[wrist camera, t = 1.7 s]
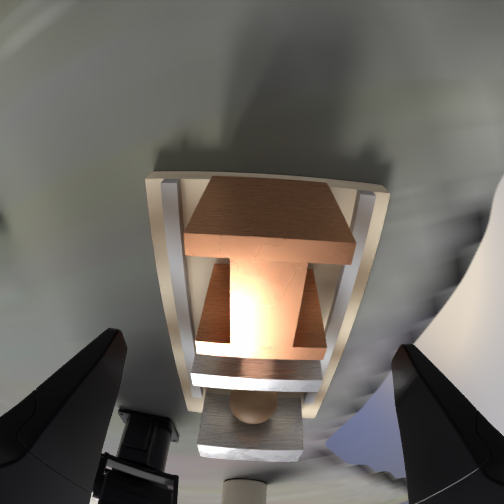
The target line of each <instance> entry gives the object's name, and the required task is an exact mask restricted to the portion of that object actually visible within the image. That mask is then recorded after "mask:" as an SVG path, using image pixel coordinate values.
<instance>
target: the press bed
mask: <svg viewBox="0 0 504 504" xmlns="http://www.w3.org/2000/svg"><path fill="white" fill-rule="evenodd" d="M212 176H239V177H259V178H276V179H291V180H304V181H316V182H327V184H328V186H329V188H330V189H331V191H332V193H333V195H334V197H335V199H336V201H337V203H338V205H339V207H340V209H341V211H342V213H343V215H344V218H345V220H346V222H347V224H348V226H349V228H350V230H351V232H352V234H353V236H354V239H355V241H356V243H357V244H356V248H355V252H354V256H353V260H352V264H351V265H341V264H322V263H308V267H307V269H313V271H314V276H315V282H316V287H317V292H318V297H319V303H320V308H321V314H322V320H323V325H324V331H325V337H326V343H327V350H326V353H325V356H324V359H323V360H320V361H321V369H322V377H323V381H322V384H321V386H320V389H319V392H282V391H276V393H277V397H284V398H301V407H302V418H315V416H316V414H317V412H318V410H319V408H320V405H321V403H322V401H323V399H324V396H325V394H326V392H327V389H328V387H329V385H330V382H331V380H332V378H333V375H334V373H335V370H336V368H337V365H338V363H339V360H340V358H341V355H342V353H343V350H344V347H345V345H346V342H347V339H348V337H349V334H350V331H351V328H352V326H353V323H354V320H355V317H356V314H357V311H358V308H359V305H360V302H361V299H362V296H363V293H364V290H365V287H366V284H367V280H368V277H369V274H370V271H371V267H372V264H373V260H374V257H375V253H376V250H377V246H378V242H379V239H380V235H381V231H382V227H383V223H384V219H385V215H386V211H387V207H388V202H389V198H390V193H389V191H388V190H387V189H386V188H385V187H384V186H383V185H378V184H370V183H362V182H354V181H345V180H335V179H325V178H314V177H302V176H289V175H274V174H257V173H236V172H202V171H153V172H152V173H151V174H150V175H149V176H148V177H147V178H146V179H145V182H146V192H147V201H148V210H149V218H150V226H151V234H152V241H153V248H154V255H155V261H156V267H157V273H158V279H159V285H160V291H161V296H162V302H163V307H164V312H165V317H166V322H167V327H168V332H169V336H170V341H171V345H172V350H173V354H174V358H175V363H176V367H177V371H178V375H179V379H180V383H181V387H182V391H183V394H184V398H185V402H186V405H187V409H188V411H193V412H201V413H202V410H203V404H204V398H205V393H215V394H226V395H230V394H231V391H232V389H226V388H215V387H205V386H196V385H193V382H192V377H191V370H192V365H193V361H194V356H195V352H196V343H195V340H196V336H197V331H198V327H199V323H200V319H201V315H202V310H203V306H204V302H205V298H206V294H207V290H208V286H209V282H210V278H211V274H212V270H213V266H214V263H215V264H230V258H216V257H199V256H185V245H184V231H185V229H186V227H187V225H188V223H189V221H190V219H191V217H192V215H193V213H194V211H195V208H196V206H197V204H198V202H199V200H200V198H201V197H202V195H203V193H204V191H205V189H206V187H207V185H208V183H209V181H210V179H211V177H212Z"/></svg>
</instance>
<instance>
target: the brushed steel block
mask: <svg viewBox="0 0 504 504" xmlns="http://www.w3.org/2000/svg"><path fill="white" fill-rule="evenodd" d="M229 397H230V395H226V394H215V393H205V398H204V404H203V410H202V417H201V423H200V429H199V435H198V442H197V446H198V449H199V452H200V455H201V456H202V457H210V458H220V459H231V460H246V461H271V462H297V461H298V459H299V457H300V456H301V454H302V452H303V450H304V448H303V426H302V407H301V398H284V397H278V405H277V409H276V411H275V413H274V414H273V415H272V417H270V418H269V419H268V420H266V421H265V422H262V423H259V424H249V423H245V422H243V421H241V420H239V419H238V418H237V417H236V416H235V415H234V414H233V413H232V411H231V409H230V405H229Z"/></svg>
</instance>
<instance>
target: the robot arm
mask: <svg viewBox="0 0 504 504" xmlns="http://www.w3.org/2000/svg"><path fill="white" fill-rule="evenodd" d="M126 354H127V345H126V342H125V340H124V337H123V334H122V332H121V330H119V329H114V328H108V329H107V330H105V331H104V332H103V333H102V334H100V335H99V336H98V337H97V338H96V339H94V340H93V341H92V342H91V343H90V344H88V345H87V346H86V347H85V348H84V349H82V350H81V351H80V352H79V353H78V354H76V355H75V356H74V357H73V358H72V359H70V360H69V361H68V362H67V363H66V364H64V365H63V366H62V367H61V368H60V369H59V370H57V371H56V372H55V373H54V374H53V375H51V376H50V377H49V378H48V379H47V380H46V381H44V382H43V383H42V384H41V385H40V386H39V387H37V388H36V390H34V391H33V392H32V393H30V394H29V395H28V396H27V397H26V398H25V399H23V400H22V401H21V402H20V403H18V404H17V405H16V406H15V407H13V408H12V409H11V410H9V411H8V412H6V413H5V414H4V415H2V416H1V417H0V504H89V502H90V498H91V493H92V494H93V496H92V499H93V500H96V501H98V504H177V496H178V479H179V476H177V475H171V474H167V473H164V471H165V465H166V460H167V455H168V450H169V445H170V441H171V442H178V441H179V438H178V436H177V433H176V431H175V429H174V426H173V424H172V421H171V420H170V419H167V418H161V417H156V416H150V415H145V414H140V413H135V412H131V411H126V410H122V409H119V410H118V414H119V416H120V417H121V419H122V420H123V422H124V423H125V427H124V431H123V434H122V437H121V441H120V444H119V448H118V451H117V455H116V457H115V456H113V455H110V454H109V453H107V452H105V454H102V453H101V452H102V448H103V444H104V441H105V437H106V434H107V430H108V426H109V423H110V420H111V416H112V413H113V409H114V406H115V403H116V400H117V396H118V393H119V388H120V384H121V378H122V373H123V368H124V364H125V359H126ZM392 374H393V384H394V397H395V406H396V412H397V418H398V423H399V429H400V436H401V442H402V448H403V455H404V462H405V471H406V479H407V488H408V499H409V504H504V436H503V435H502V434H501V433H500V432H499V431H498V430H496V429H495V428H494V427H493V426H492V425H491V424H490V423H489V422H488V421H487V419H486V418H485V417H484V416H483V415H482V414H481V413H480V412H479V411H477V409H476V408H475V407H474V406H473V405H472V404H471V403H470V402H469V400H468V399H467V398H466V397H465V396H464V395H463V394H462V393H461V392H460V391H459V390H458V389H457V388H456V387H455V386H454V385H453V384H452V383H451V382H450V381H449V380H448V379H447V378H446V377H445V376H444V374H443V373H442V372H441V371H439V369H438V368H437V367H436V366H434V364H433V363H432V362H431V361H430V360H429V359H428V358H427V357H426V356H425V355H424V354H423V353H422V352H421V351H420V350H419V349H418V348H417V347H416V346H415V345H413V344H401V345H400V346H399V348H398V350H397V352H396V354H395V356H394V358H393V360H392ZM106 466H109V467H111V468H112V470H110V469H107V468H106Z"/></svg>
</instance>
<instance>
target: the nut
mask: <svg viewBox="0 0 504 504" xmlns="http://www.w3.org/2000/svg"><path fill="white" fill-rule="evenodd" d="M229 405H230V409H231V411H232V413H233V414H234V415H235V416H236V417H237V418H238V419H239V420H241V421H243V422H245V423H249V424H259V423H262V422H265V421H266V420H268V419H269V418H270V417H272V415H273V414H274V413H275V411H276V409H277V405H278V397H277V393H276V391H256V390H239V389H232V391H231V394H230V397H229Z"/></svg>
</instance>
